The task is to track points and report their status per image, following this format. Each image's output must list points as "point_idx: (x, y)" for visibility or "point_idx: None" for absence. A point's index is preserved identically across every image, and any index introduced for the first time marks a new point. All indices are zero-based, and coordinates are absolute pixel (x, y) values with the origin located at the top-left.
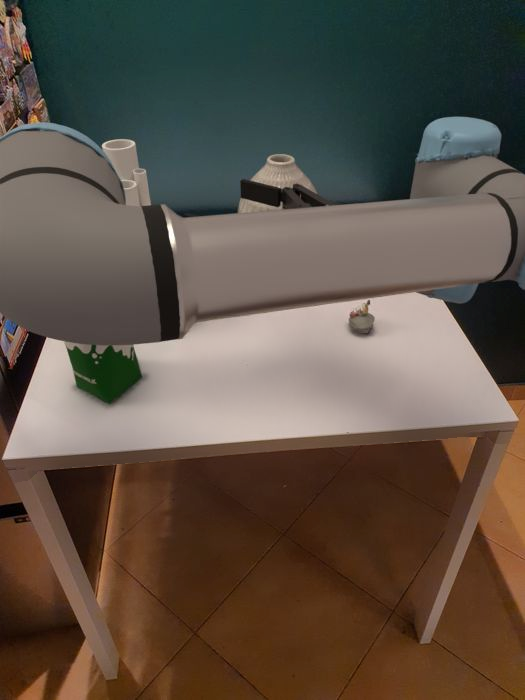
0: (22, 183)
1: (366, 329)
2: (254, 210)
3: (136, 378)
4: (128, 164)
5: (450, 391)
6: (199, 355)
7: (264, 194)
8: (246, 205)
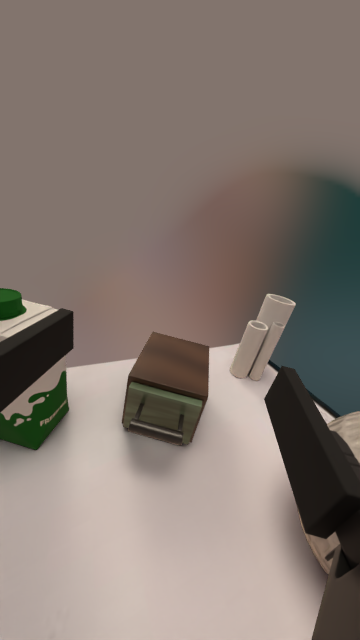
0: None
1: None
2: None
3: (26, 444)
4: (274, 314)
5: None
6: (82, 508)
7: (299, 446)
8: (335, 430)
